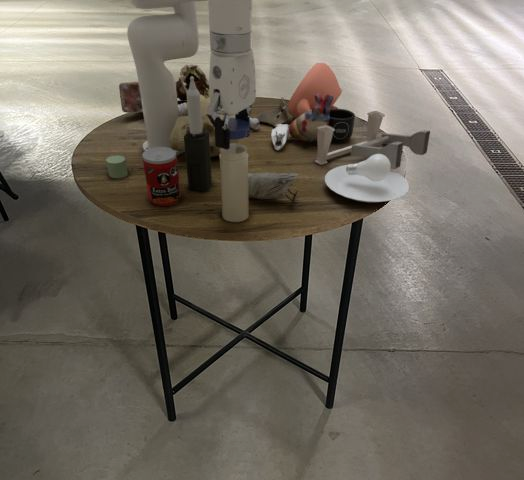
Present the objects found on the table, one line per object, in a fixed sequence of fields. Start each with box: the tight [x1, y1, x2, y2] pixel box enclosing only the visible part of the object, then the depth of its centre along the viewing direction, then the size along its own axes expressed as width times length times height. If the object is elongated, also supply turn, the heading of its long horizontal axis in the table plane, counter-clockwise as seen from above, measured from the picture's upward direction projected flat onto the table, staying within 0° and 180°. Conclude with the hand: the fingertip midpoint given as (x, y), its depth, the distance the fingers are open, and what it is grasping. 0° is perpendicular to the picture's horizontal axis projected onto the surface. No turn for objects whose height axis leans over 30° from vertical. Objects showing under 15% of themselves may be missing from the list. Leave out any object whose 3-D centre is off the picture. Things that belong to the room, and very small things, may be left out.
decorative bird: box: [249, 172, 300, 205], centre depth 114 cm, size 5×16×8 cm, turn 77°
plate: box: [324, 164, 410, 204], centre depth 120 cm, size 21×21×2 cm
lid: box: [222, 118, 251, 140], centre depth 98 cm, size 7×7×2 cm
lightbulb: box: [346, 154, 392, 181], centre depth 118 cm, size 6×6×11 cm
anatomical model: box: [288, 94, 333, 143], centre depth 137 cm, size 10×9×15 cm
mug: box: [328, 108, 356, 143], centre depth 143 cm, size 12×9×7 cm
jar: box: [218, 143, 250, 223], centre depth 106 cm, size 6×6×15 cm
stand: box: [105, 155, 129, 179], centre depth 124 cm, size 5×5×4 cm
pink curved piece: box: [287, 62, 343, 119], centre depth 149 cm, size 25×17×13 cm
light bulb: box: [178, 95, 205, 117], centre depth 154 cm, size 6×6×10 cm
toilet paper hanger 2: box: [350, 129, 431, 170], centre depth 132 cm, size 22×13×6 cm, turn 143°
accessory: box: [287, 136, 318, 148], centre depth 143 cm, size 9×9×1 cm
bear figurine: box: [176, 64, 210, 103], centre depth 164 cm, size 14×15×12 cm
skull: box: [170, 97, 240, 158], centre depth 132 cm, size 14×17×20 cm
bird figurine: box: [270, 123, 290, 151], centre depth 140 cm, size 5×7×10 cm
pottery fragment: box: [253, 96, 289, 128], centre depth 155 cm, size 18×11×5 cm, turn 2°
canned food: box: [142, 147, 182, 207], centre depth 112 cm, size 8×8×11 cm
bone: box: [237, 113, 261, 131], centre depth 151 cm, size 18×5×4 cm
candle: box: [184, 76, 213, 193], centre depth 112 cm, size 5×5×25 cm
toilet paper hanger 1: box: [314, 110, 386, 166], centre depth 133 cm, size 23×9×4 cm
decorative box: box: [118, 81, 177, 114], centre depth 154 cm, size 13×20×10 cm
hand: (232, 140), depth 99 cm, fingers closed on lid, 6 cm apart
